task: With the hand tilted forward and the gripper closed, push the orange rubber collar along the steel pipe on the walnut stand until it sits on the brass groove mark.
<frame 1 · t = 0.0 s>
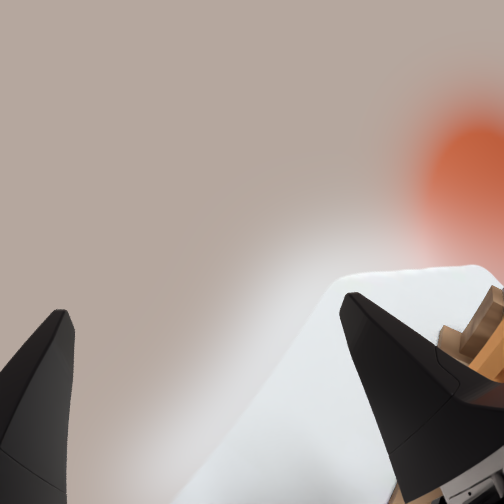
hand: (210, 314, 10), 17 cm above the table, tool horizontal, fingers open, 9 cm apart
stand: (462, 431, 21), on the table
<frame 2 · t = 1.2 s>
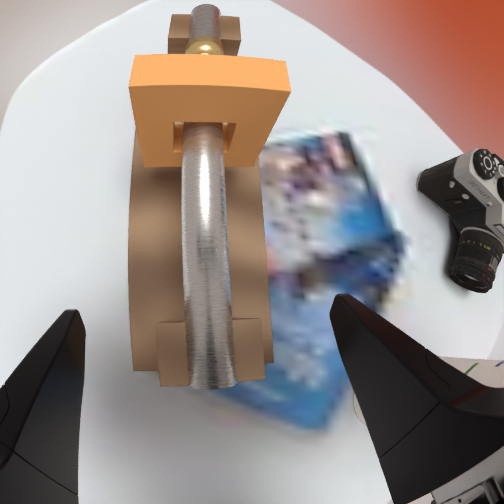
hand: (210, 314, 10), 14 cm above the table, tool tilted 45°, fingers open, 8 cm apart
cylindrical container: (385, 390, 25), on the table
camera: (455, 241, 30), on the table
pipe: (202, 145, 16), point 8 cm above the table
collar: (203, 118, 16), point 9 cm above the table, slide at 0.0 cm
stand: (195, 200, 24), on the table
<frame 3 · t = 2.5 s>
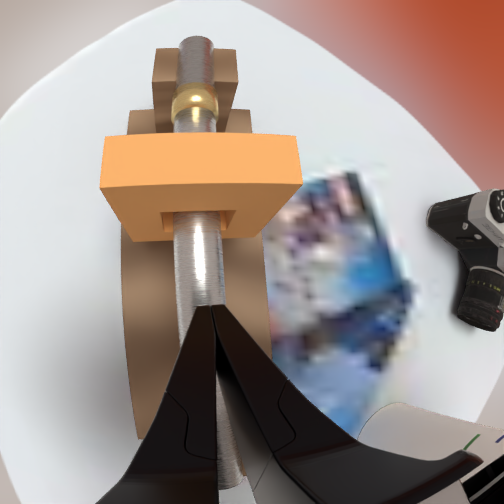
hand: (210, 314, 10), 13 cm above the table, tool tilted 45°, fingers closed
cylindrical container: (388, 438, 23), on the table
camera: (463, 276, 28), on the table
pipe: (197, 232, 15), point 8 cm above the table
collar: (196, 197, 14), point 9 cm above the table, slide at 0.0 cm
stand: (192, 262, 23), on the table
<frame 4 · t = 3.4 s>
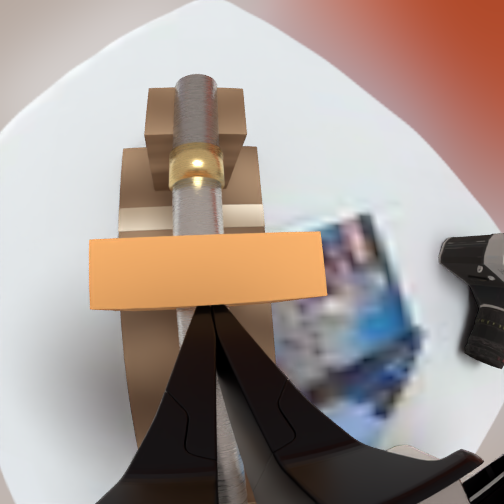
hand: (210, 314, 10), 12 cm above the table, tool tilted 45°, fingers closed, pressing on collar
cylindrical container: (389, 477, 22), on the table
camera: (472, 311, 27), on the table
pipe: (204, 328, 13), point 8 cm above the table
collar: (201, 282, 13), point 9 cm above the table, slide at 0.4 cm, touching gripper
stand: (196, 322, 21), on the table
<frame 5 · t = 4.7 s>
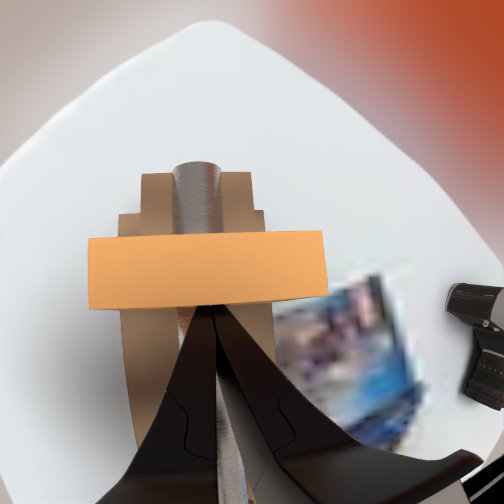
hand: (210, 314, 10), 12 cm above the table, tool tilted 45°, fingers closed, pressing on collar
camera: (475, 353, 26), on the table
pipe: (216, 441, 12), point 8 cm above the table
collar: (201, 281, 13), point 9 cm above the table, slide at 5.6 cm, touching gripper
stand: (203, 394, 20), on the table
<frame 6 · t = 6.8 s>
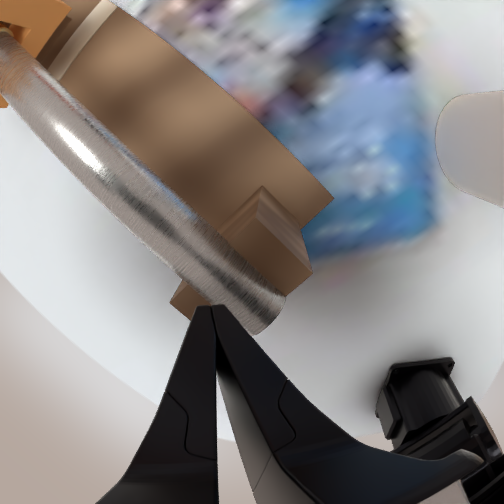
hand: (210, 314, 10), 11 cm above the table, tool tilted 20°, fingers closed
cylindrical container: (474, 144, 17), on the table
pipe: (52, 113, 10), point 8 cm above the table
stand: (133, 116, 18), on the table
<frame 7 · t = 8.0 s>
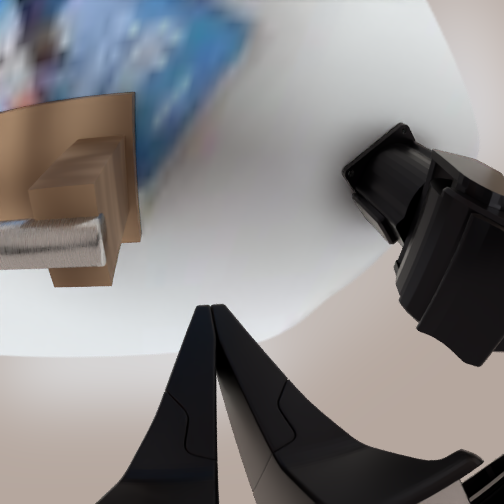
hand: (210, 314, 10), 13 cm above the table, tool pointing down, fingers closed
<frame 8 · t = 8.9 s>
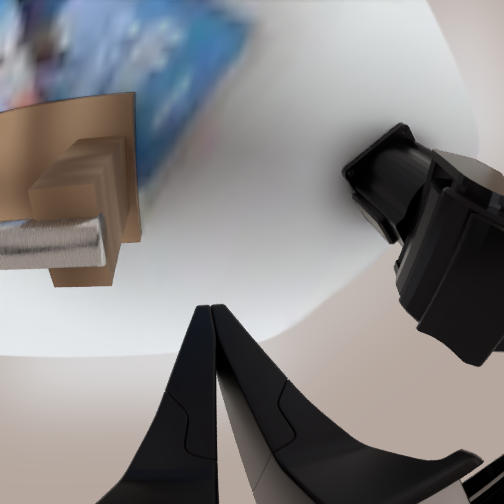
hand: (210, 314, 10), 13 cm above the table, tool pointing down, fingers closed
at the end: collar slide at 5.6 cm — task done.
